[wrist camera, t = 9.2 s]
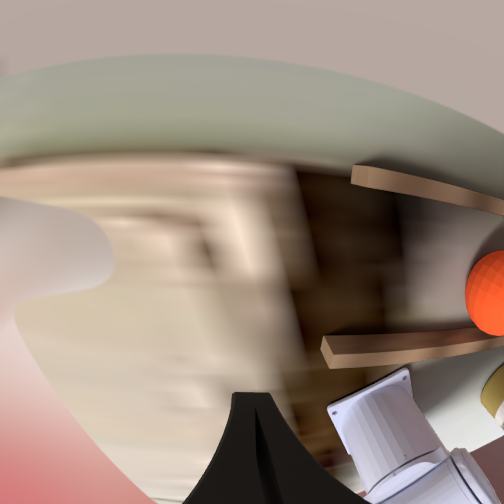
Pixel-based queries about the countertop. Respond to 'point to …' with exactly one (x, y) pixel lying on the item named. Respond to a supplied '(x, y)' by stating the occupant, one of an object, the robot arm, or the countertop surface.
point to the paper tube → (495, 396)
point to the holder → (418, 343)
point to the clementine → (487, 293)
